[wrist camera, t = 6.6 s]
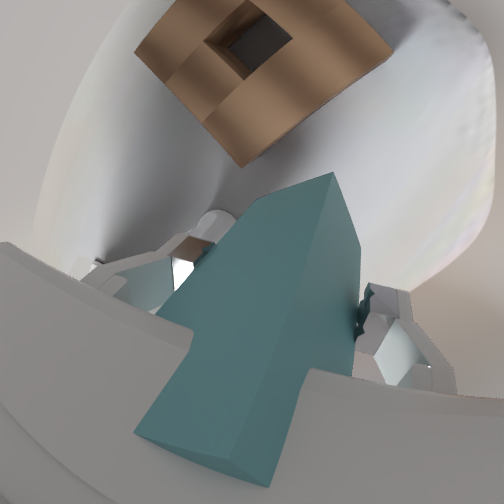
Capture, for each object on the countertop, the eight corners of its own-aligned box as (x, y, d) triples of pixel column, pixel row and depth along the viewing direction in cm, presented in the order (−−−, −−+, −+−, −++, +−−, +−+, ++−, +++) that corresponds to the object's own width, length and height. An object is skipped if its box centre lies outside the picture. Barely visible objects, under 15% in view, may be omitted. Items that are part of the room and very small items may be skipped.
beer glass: (250, 251, 39) (199, 329, 27) (206, 254, 42) (146, 323, 30) (237, 202, 36) (172, 267, 24) (191, 209, 39) (119, 268, 26)
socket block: (260, 155, 32) (241, 168, 27) (165, 54, 28) (133, 52, 23) (386, 60, 22) (394, 52, 17) (268, -44, 18) (251, -66, 13)
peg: (288, 265, 16) (184, 487, 6) (257, 198, 14) (77, 408, 5) (360, 247, 14) (320, 518, 4) (333, 171, 12) (227, 458, 3)
